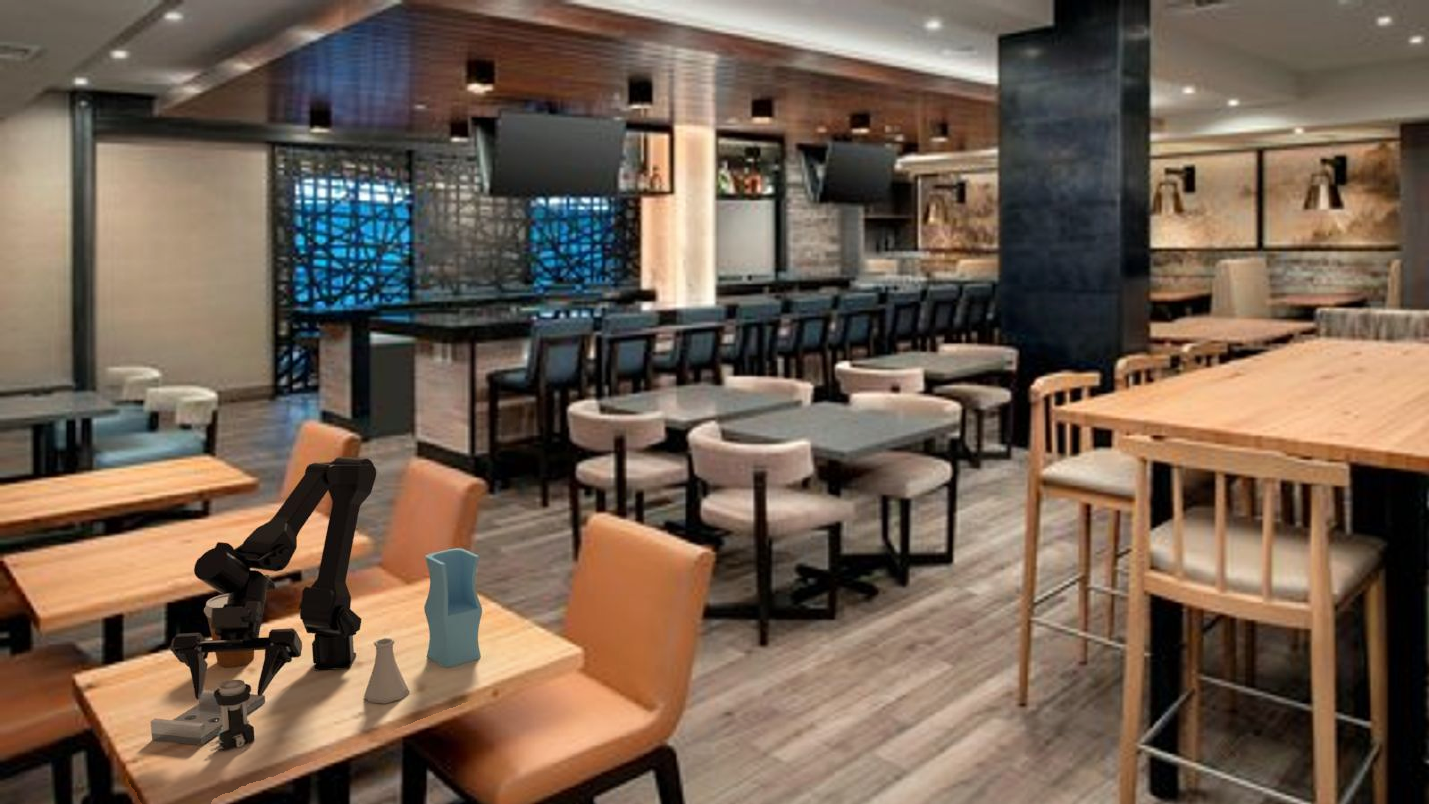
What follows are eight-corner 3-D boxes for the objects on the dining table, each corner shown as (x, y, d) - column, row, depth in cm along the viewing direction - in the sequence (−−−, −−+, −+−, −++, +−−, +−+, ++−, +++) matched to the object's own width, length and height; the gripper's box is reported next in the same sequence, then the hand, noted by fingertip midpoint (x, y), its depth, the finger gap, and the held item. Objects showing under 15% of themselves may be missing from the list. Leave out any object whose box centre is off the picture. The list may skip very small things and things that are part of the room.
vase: (445, 668, 193) (441, 564, 190) (426, 656, 199) (421, 555, 196) (483, 657, 198) (480, 556, 195) (463, 645, 204) (459, 547, 201)
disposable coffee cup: (209, 655, 199) (204, 595, 198) (263, 648, 203) (259, 589, 201) (206, 674, 191) (201, 611, 189) (263, 666, 194) (258, 604, 193)
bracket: (219, 697, 181) (218, 680, 180) (265, 702, 179) (264, 684, 179) (152, 740, 165) (150, 721, 165) (201, 745, 164) (200, 726, 163)
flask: (384, 708, 177) (381, 652, 175) (356, 698, 180) (353, 643, 179) (417, 693, 183) (414, 638, 181) (389, 683, 186) (386, 630, 185)
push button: (218, 759, 159) (213, 697, 158) (203, 748, 163) (198, 687, 161) (261, 743, 164) (256, 683, 163) (245, 733, 168) (241, 674, 166)
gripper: (169, 585, 164) (147, 680, 155) (293, 580, 167) (278, 673, 157) (191, 616, 173) (171, 707, 164) (308, 611, 175) (295, 700, 166)
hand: (228, 696), depth 163 cm, fingers open, 9 cm apart
